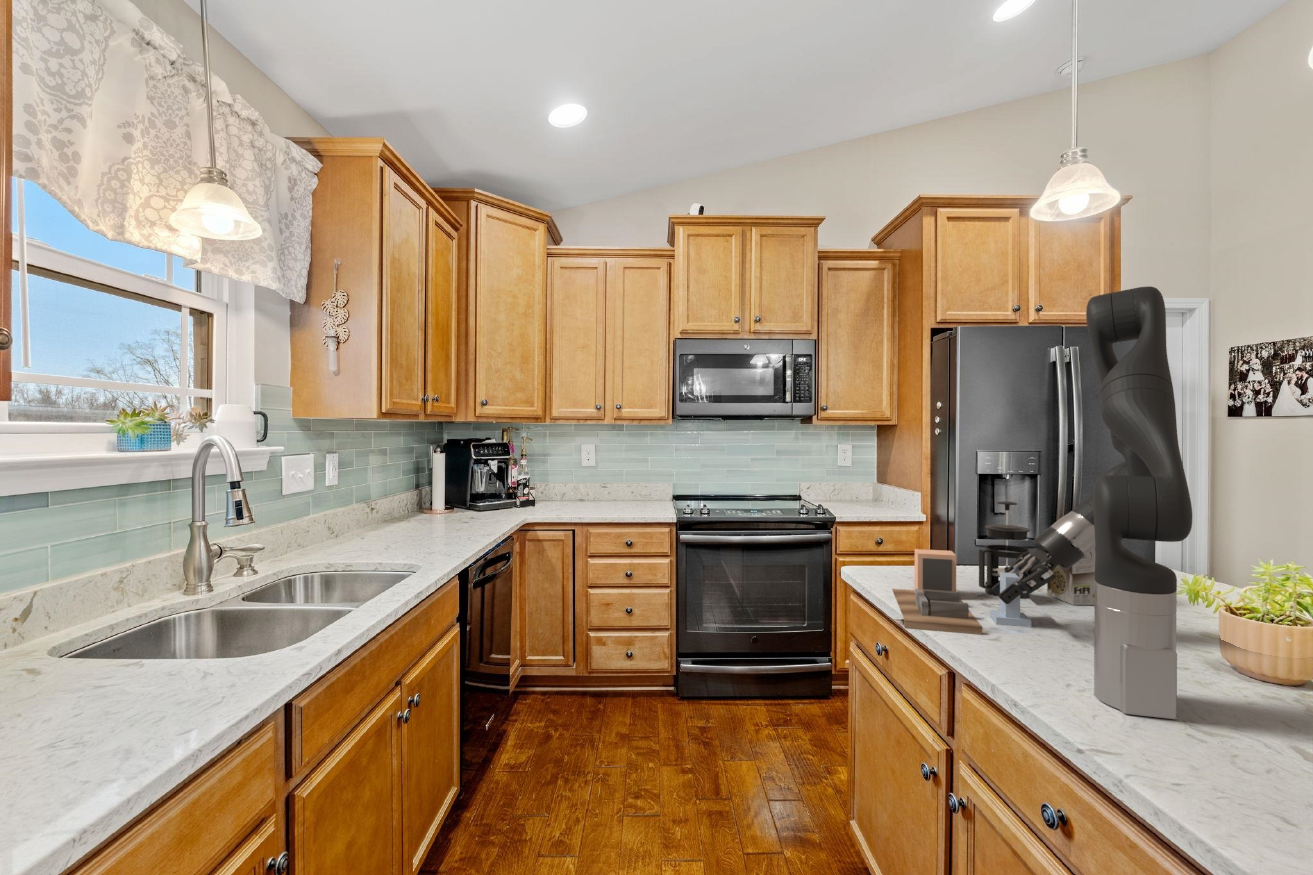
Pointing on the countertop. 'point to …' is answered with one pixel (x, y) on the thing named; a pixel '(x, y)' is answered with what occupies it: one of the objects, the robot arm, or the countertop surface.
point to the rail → (936, 611)
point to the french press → (1000, 552)
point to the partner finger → (935, 570)
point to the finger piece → (1009, 606)
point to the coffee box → (1075, 582)
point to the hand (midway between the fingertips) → (998, 596)
